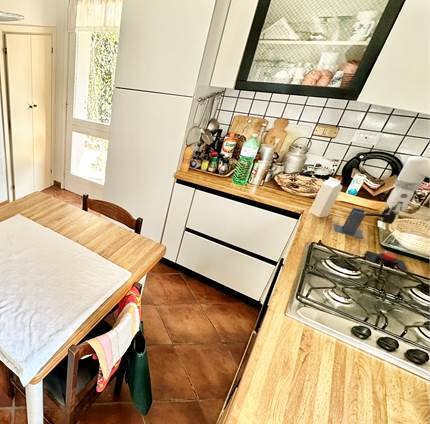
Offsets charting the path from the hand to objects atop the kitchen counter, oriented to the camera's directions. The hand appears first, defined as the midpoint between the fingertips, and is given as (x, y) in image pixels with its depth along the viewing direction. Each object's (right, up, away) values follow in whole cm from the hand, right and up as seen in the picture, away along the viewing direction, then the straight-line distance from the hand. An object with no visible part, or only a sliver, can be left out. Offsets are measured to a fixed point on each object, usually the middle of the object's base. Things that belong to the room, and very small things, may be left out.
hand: (385, 219), depth 143 cm
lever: (-4, +1, +3) cm, 5 cm away
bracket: (-8, -7, +11) cm, 15 cm away
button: (-14, -16, -14) cm, 25 cm away
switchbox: (-14, -19, -12) cm, 27 cm away
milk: (-10, +2, +26) cm, 28 cm away
